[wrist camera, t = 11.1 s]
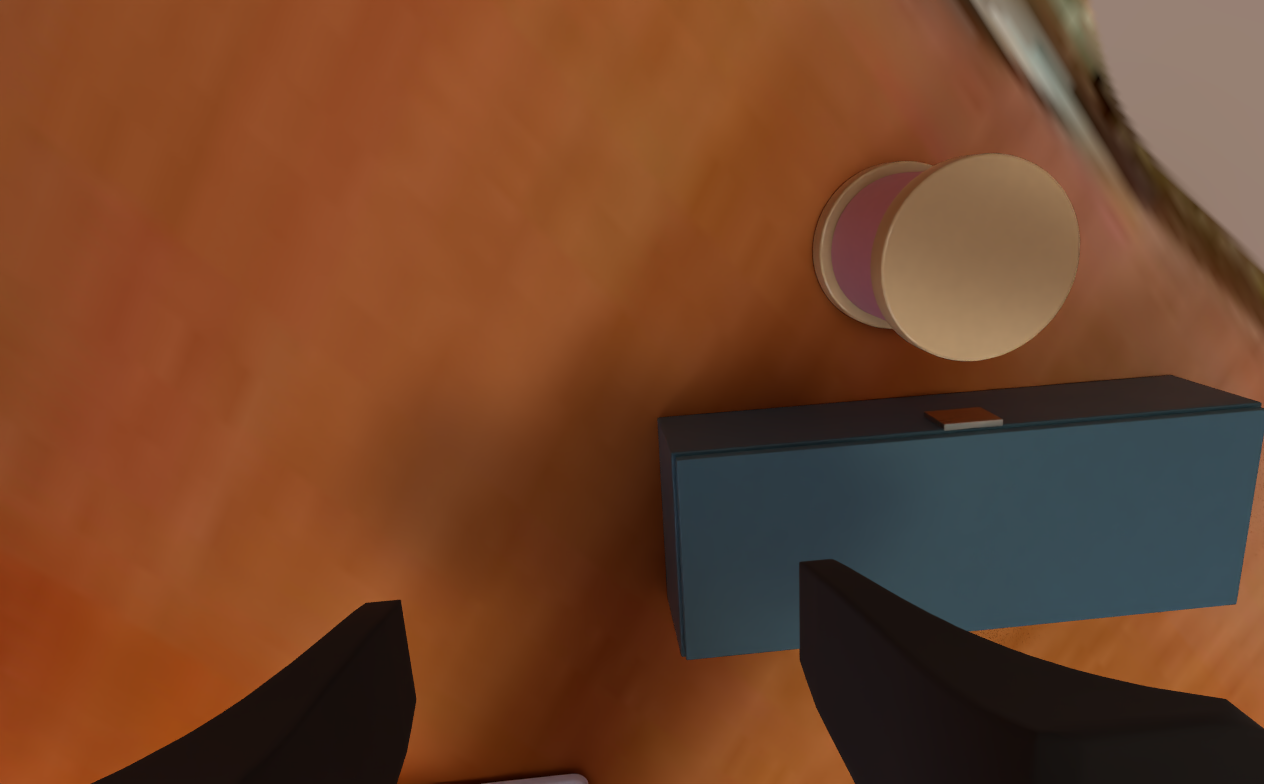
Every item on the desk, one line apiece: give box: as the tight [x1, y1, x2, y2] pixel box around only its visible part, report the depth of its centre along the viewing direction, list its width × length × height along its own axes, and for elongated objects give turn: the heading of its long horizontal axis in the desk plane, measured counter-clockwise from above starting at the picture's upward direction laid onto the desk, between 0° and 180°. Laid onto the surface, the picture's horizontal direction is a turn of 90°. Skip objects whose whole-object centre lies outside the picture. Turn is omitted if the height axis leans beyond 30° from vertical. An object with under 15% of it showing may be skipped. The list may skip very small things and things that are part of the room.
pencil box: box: [657, 375, 1264, 660], centre depth 22 cm, size 16×6×4 cm, turn 94°
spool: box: [813, 153, 1080, 361], centre depth 19 cm, size 5×5×5 cm
